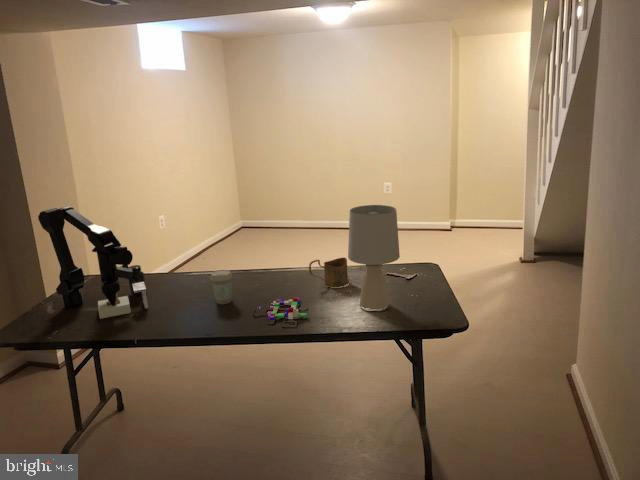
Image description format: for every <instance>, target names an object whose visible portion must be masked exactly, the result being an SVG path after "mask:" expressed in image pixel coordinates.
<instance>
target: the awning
mask: <svg viewBox="0 0 640 480" xmlns="http://www.w3.org/2000/svg"><path fill="white" fill-rule="evenodd" d="M132 286H133V290H134V293H137V292H142V295H141V298H142V303H143V307H144V309H145V310H147V309H149V304H148V298H147V293H146V288H147V286H146V287H145V284H144V282H140V283H134V284H132Z"/></svg>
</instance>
